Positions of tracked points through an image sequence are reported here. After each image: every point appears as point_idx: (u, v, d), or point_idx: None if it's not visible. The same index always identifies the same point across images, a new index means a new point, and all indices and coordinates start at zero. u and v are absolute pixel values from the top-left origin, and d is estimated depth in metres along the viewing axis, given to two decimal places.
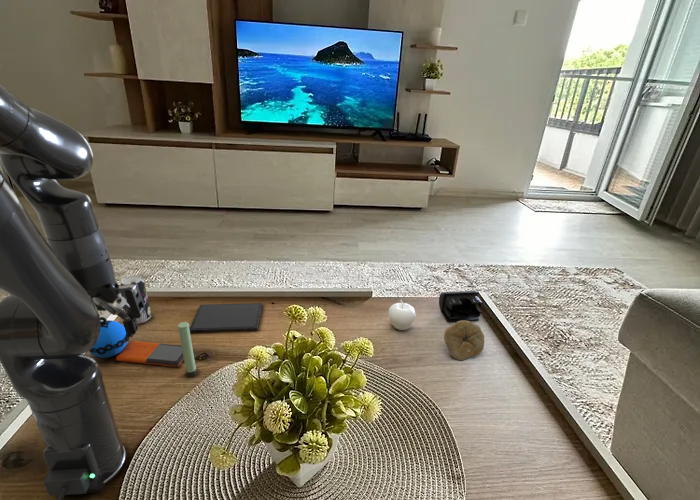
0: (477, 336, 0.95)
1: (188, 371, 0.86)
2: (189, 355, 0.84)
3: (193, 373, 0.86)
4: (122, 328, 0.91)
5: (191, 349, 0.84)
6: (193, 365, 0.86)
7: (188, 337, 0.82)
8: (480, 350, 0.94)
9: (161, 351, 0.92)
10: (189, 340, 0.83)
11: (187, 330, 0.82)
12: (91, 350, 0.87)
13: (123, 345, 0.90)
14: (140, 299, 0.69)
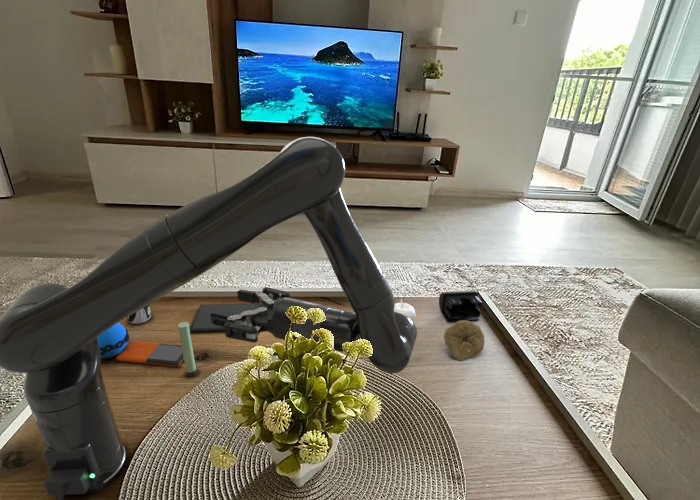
0: (477, 336, 0.95)
1: (188, 371, 0.86)
2: (189, 355, 0.84)
3: (193, 373, 0.86)
4: (122, 328, 0.91)
5: (191, 349, 0.84)
6: (193, 365, 0.86)
7: (188, 337, 0.82)
8: (480, 350, 0.94)
9: (161, 351, 0.92)
10: (189, 340, 0.83)
11: (187, 330, 0.82)
12: None
13: (123, 345, 0.90)
14: (238, 336, 0.68)
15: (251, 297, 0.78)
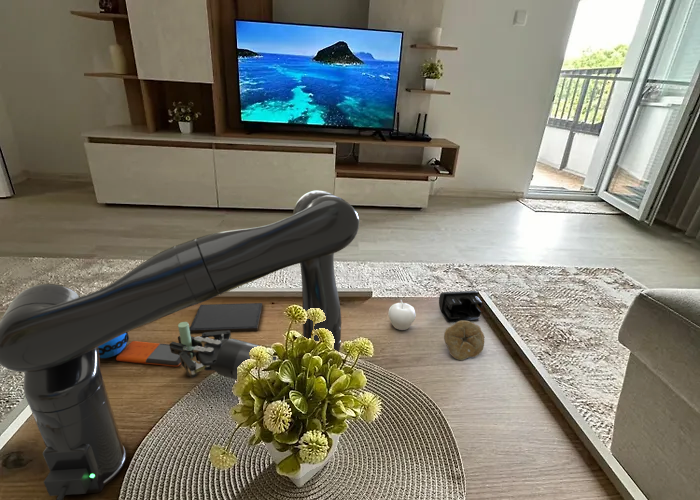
0: (477, 336, 0.95)
1: None
2: None
3: None
4: None
5: None
6: None
7: (188, 337, 0.82)
8: (480, 350, 0.94)
9: (161, 351, 0.92)
10: (189, 340, 0.83)
11: (187, 330, 0.82)
12: None
13: (122, 346, 0.90)
14: (184, 367, 0.79)
15: None
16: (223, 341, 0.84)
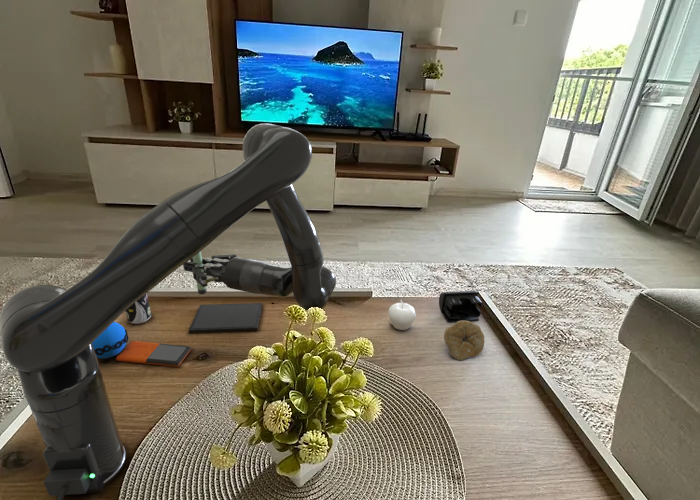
0: (477, 336, 0.95)
1: (199, 289, 0.97)
2: None
3: (204, 291, 0.97)
4: (121, 329, 0.90)
5: None
6: None
7: (199, 256, 0.94)
8: (480, 350, 0.94)
9: (161, 351, 0.92)
10: (200, 259, 0.94)
11: None
12: None
13: (122, 346, 0.90)
14: (197, 279, 0.90)
15: None
16: None
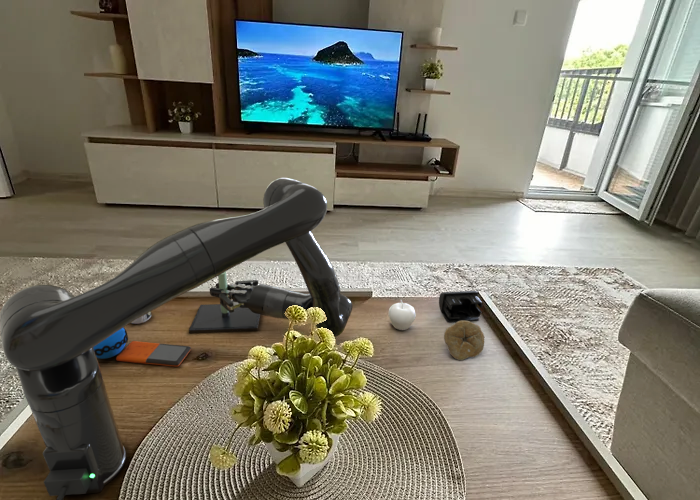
0: (477, 336, 0.95)
1: (223, 312, 1.05)
2: None
3: (227, 314, 1.05)
4: (121, 329, 0.90)
5: None
6: None
7: (225, 283, 1.01)
8: (480, 350, 0.94)
9: (161, 351, 0.92)
10: (226, 286, 1.02)
11: (225, 277, 1.01)
12: None
13: (121, 347, 0.90)
14: (224, 305, 0.98)
15: None
16: (253, 287, 1.03)
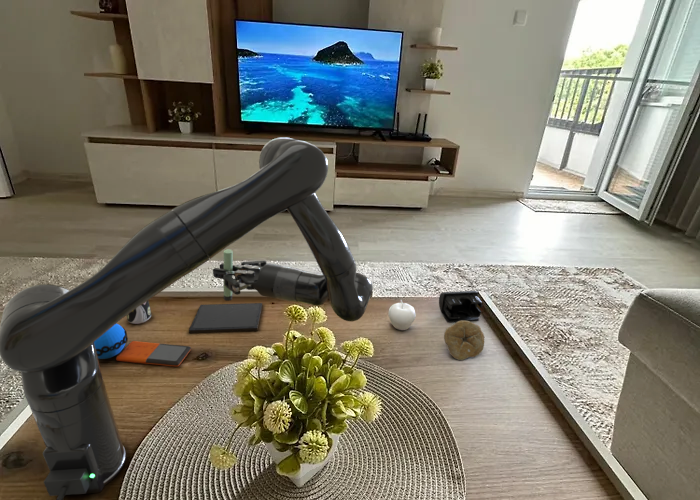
0: (477, 336, 0.95)
1: (226, 295, 0.95)
2: None
3: (230, 298, 0.95)
4: (120, 330, 0.90)
5: None
6: None
7: (231, 263, 0.91)
8: (480, 350, 0.94)
9: (161, 351, 0.92)
10: (231, 266, 0.92)
11: (231, 257, 0.91)
12: None
13: (121, 347, 0.90)
14: (229, 286, 0.88)
15: None
16: (261, 268, 0.93)
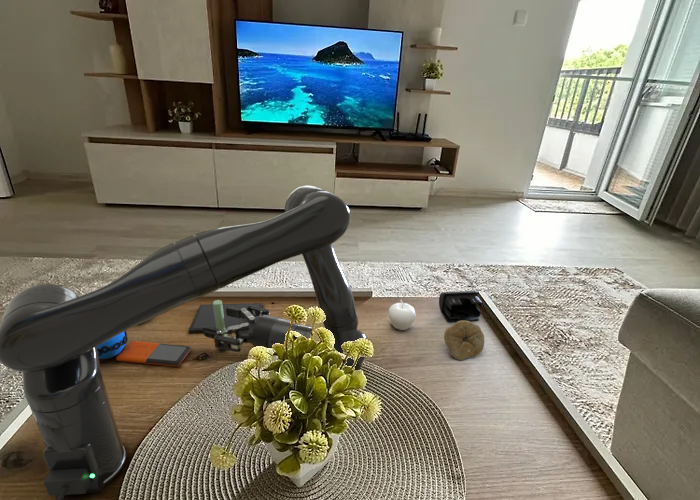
0: (477, 336, 0.95)
1: None
2: None
3: None
4: None
5: (224, 325, 0.92)
6: None
7: (221, 314, 0.91)
8: (480, 350, 0.94)
9: (161, 351, 0.92)
10: (222, 316, 0.91)
11: (221, 307, 0.90)
12: None
13: (120, 347, 0.90)
14: (224, 347, 0.84)
15: (237, 313, 0.95)
16: (257, 317, 0.92)
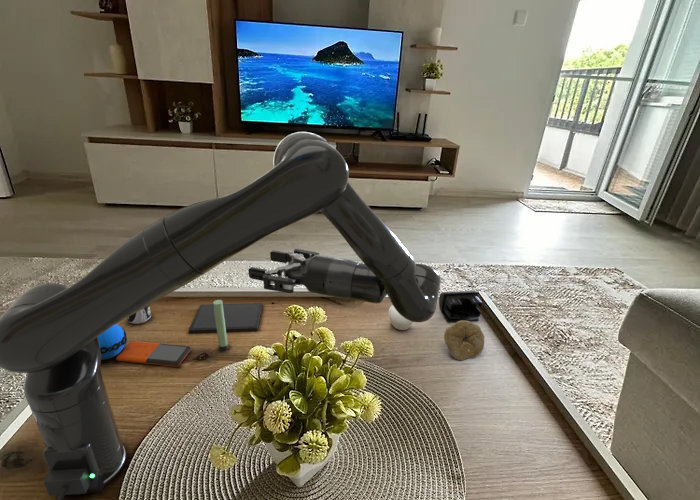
0: (477, 336, 0.95)
1: (221, 345, 0.94)
2: (222, 330, 0.92)
3: (225, 347, 0.94)
4: (119, 331, 0.90)
5: (224, 325, 0.92)
6: (225, 340, 0.94)
7: (222, 314, 0.91)
8: (480, 350, 0.94)
9: (161, 351, 0.92)
10: (223, 316, 0.91)
11: (221, 307, 0.90)
12: None
13: (119, 348, 0.89)
14: (275, 287, 0.74)
15: (283, 257, 0.84)
16: (307, 259, 0.81)
